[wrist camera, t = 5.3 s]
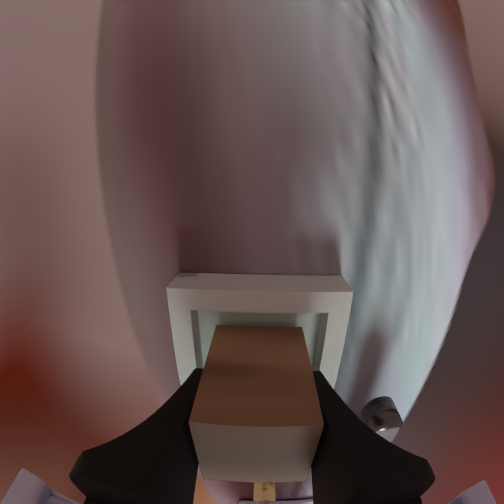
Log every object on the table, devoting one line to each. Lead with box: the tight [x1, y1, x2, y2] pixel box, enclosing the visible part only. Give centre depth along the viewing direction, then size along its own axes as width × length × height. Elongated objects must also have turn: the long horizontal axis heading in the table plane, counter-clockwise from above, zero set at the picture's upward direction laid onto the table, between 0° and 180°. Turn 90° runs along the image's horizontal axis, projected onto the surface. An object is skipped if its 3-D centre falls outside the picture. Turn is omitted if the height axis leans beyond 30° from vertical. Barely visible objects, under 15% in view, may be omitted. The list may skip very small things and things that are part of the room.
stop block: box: [189, 325, 324, 482], centre depth 10 cm, size 4×4×6 cm
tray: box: [167, 272, 353, 389], centre depth 14 cm, size 8×8×2 cm
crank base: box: [253, 482, 276, 504], centre depth 15 cm, size 6×10×4 cm, turn 89°
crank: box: [360, 396, 403, 442], centre depth 14 cm, size 9×3×3 cm, turn 179°
